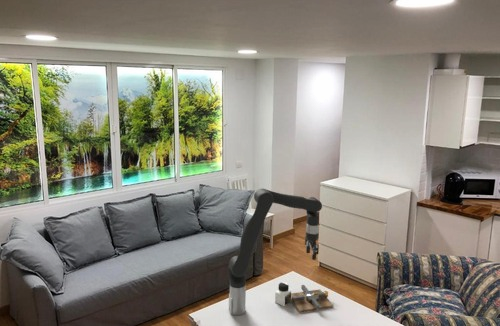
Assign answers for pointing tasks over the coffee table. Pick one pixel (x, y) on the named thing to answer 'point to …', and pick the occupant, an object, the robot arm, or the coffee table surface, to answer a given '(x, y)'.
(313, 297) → the spoked handwheel
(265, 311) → the coffee table surface
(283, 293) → the medicine bottle
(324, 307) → the stand board
